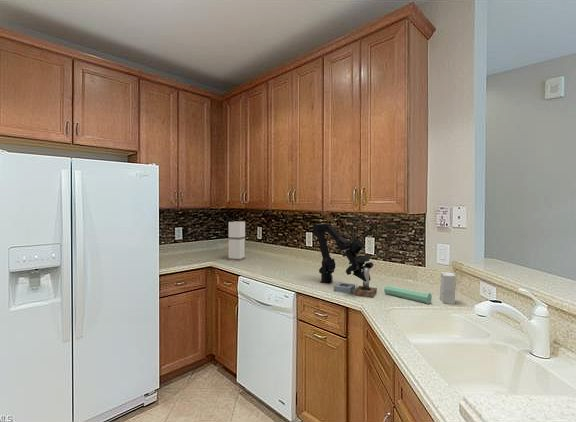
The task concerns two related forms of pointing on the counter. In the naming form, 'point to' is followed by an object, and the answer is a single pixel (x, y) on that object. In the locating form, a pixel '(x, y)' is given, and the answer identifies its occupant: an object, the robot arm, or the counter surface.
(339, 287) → the socket block
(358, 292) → the brown square frame
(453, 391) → the counter surface
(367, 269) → the axle
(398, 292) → the green faceted rod
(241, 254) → the white square tower
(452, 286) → the skincare box
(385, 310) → the counter surface
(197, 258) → the counter surface
